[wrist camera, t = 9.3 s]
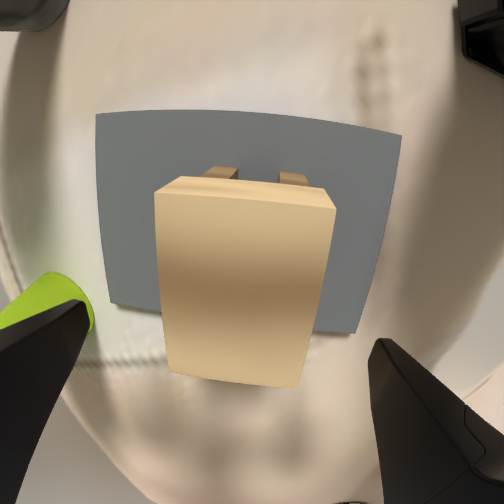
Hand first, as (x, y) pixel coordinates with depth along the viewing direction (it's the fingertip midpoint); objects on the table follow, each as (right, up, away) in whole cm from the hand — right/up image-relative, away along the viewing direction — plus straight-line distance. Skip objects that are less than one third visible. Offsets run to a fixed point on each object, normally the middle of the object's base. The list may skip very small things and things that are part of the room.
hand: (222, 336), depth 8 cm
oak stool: (+1, +3, +7) cm, 8 cm away
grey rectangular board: (0, +4, +8) cm, 9 cm away
